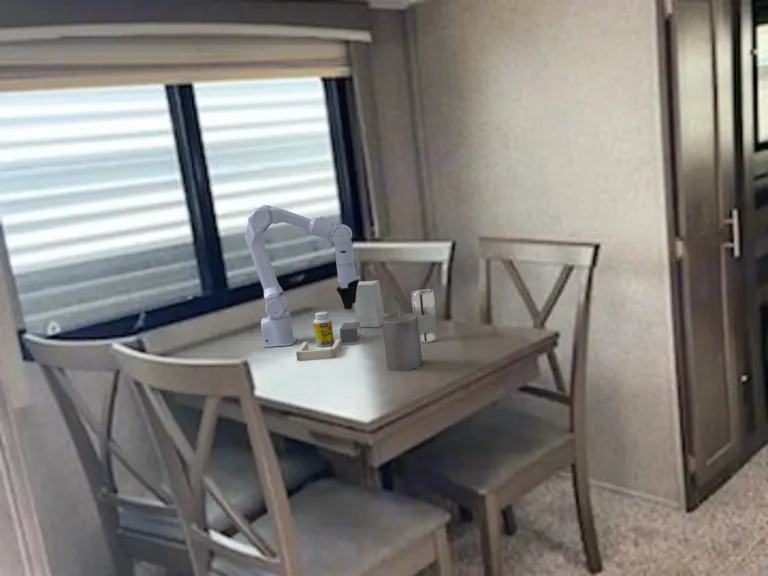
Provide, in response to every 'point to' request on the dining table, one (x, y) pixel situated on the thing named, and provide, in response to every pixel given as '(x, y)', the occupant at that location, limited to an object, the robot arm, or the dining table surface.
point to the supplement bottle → (323, 329)
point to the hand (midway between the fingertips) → (350, 306)
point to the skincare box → (369, 304)
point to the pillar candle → (402, 341)
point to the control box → (350, 334)
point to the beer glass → (425, 314)
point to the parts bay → (318, 352)
